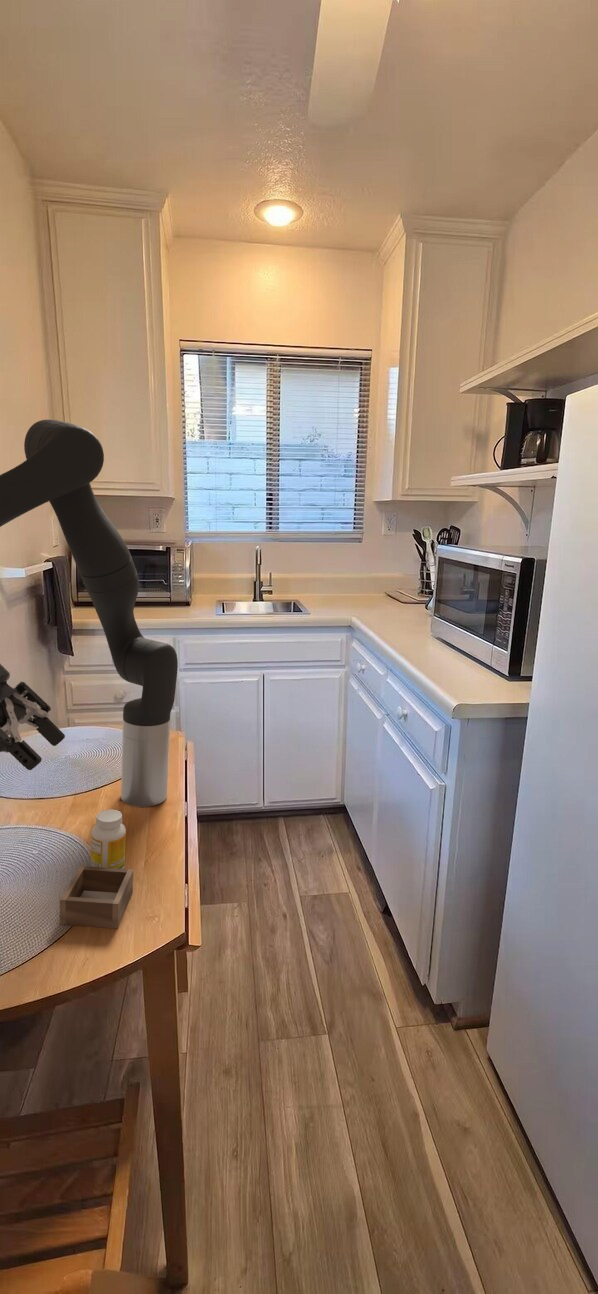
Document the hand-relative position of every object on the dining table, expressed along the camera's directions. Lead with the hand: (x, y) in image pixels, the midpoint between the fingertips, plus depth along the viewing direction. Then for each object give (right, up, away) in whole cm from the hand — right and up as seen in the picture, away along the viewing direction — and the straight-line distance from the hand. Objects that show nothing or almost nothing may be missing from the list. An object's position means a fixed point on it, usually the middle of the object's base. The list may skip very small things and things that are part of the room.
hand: (49, 753), depth 84 cm
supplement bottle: (+4, -22, +14) cm, 26 cm away
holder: (+5, -24, +5) cm, 25 cm away
